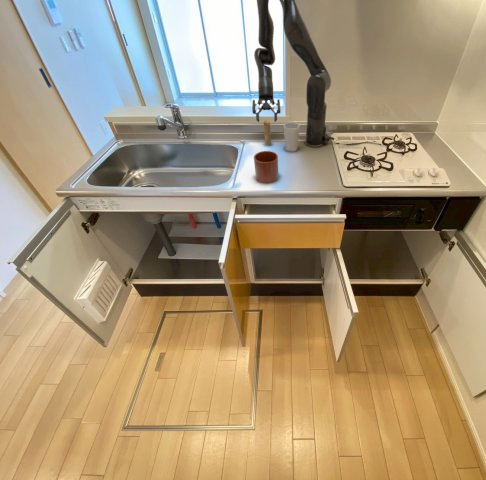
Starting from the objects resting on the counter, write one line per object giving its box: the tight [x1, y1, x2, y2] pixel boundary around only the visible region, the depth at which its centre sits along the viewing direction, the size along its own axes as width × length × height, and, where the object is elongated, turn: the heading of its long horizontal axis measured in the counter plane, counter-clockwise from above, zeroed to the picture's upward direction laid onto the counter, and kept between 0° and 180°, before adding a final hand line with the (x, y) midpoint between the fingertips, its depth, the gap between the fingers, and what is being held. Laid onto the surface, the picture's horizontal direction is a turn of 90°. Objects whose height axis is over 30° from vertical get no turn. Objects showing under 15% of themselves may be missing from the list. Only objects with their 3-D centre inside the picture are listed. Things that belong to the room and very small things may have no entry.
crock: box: [253, 150, 280, 184], centre depth 117 cm, size 10×10×10 cm
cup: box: [283, 121, 301, 153], centre depth 134 cm, size 8×8×12 cm
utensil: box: [263, 120, 272, 147], centre depth 138 cm, size 3×3×12 cm
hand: (266, 121), depth 135 cm, fingers open, 8 cm apart
